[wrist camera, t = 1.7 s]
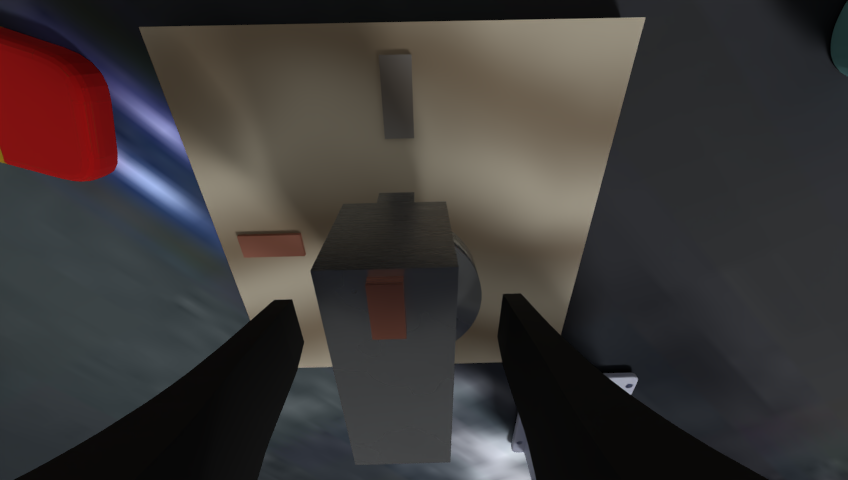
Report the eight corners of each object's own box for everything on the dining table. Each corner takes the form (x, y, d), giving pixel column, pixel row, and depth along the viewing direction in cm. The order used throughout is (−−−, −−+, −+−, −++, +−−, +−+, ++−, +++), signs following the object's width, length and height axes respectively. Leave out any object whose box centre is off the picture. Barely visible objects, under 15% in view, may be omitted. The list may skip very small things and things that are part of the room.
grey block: (471, 349, 15) (493, 470, 11) (342, 352, 15) (311, 476, 11) (483, 186, 11) (527, 274, 7) (309, 190, 11) (237, 281, 7)
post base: (545, 342, 22) (573, 405, 18) (277, 349, 22) (246, 414, 18) (622, 20, 13) (711, 6, 9) (167, 29, 13) (56, 19, 9)
